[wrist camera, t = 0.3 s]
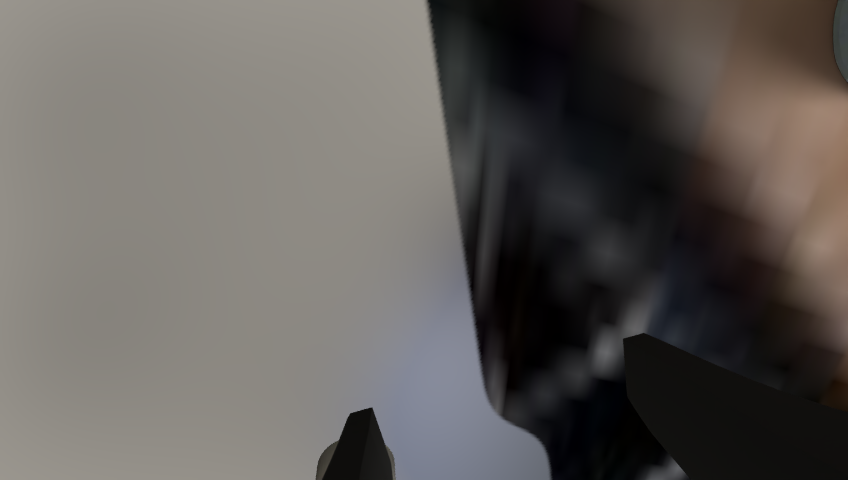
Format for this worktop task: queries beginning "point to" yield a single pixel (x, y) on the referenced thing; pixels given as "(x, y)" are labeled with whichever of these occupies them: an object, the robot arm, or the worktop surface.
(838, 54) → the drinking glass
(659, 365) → the robot arm
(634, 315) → the worktop surface
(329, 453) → the spice pot
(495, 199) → the worktop surface
